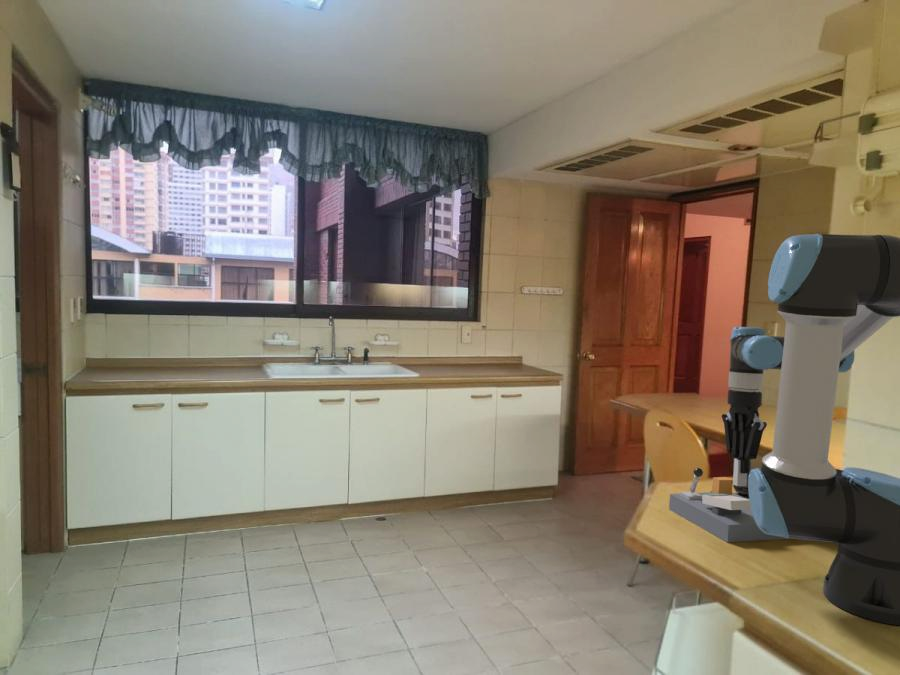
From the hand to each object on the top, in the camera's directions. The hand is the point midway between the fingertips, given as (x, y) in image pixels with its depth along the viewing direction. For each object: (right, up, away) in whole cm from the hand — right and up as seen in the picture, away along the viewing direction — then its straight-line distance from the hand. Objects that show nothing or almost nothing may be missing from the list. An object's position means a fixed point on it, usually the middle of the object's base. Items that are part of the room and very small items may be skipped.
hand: (739, 485), depth 148 cm
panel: (-4, -9, -2) cm, 10 cm away
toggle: (-10, -3, +4) cm, 12 cm away
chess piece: (+11, -8, +20) cm, 24 cm away
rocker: (-6, -2, -7) cm, 10 cm away
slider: (-1, -4, +7) cm, 8 cm away
